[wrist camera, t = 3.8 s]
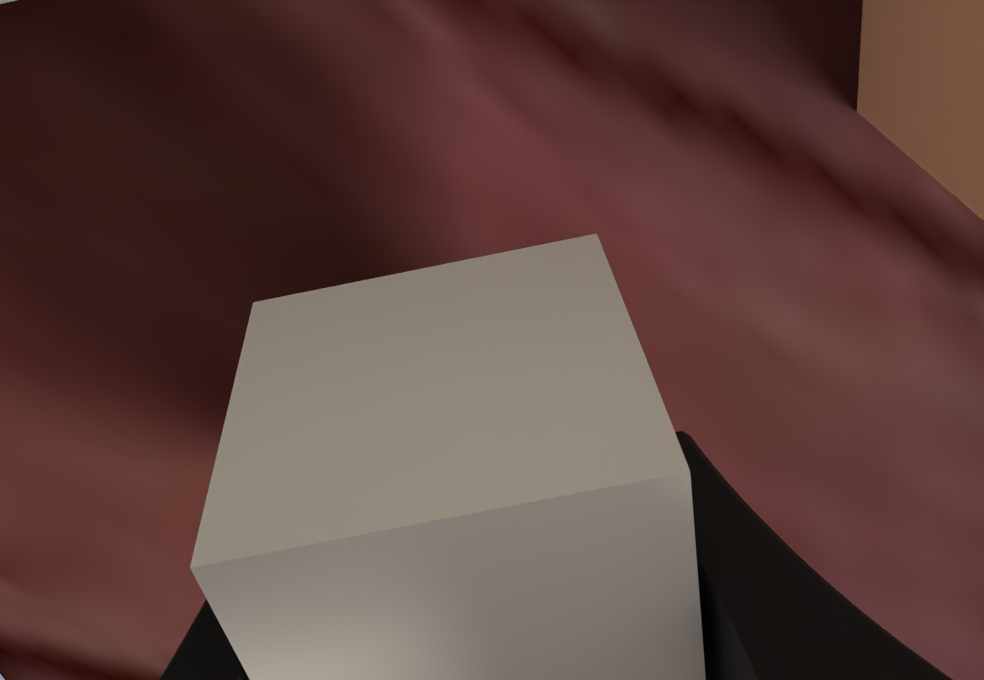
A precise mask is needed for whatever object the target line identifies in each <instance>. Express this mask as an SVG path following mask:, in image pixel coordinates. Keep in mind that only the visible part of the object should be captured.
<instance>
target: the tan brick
mask: <svg viewBox="0 0 984 680" xmlns="http://www.w3.org/2000/svg"><path fill="white" fill-rule="evenodd" d="M857 112H858V113H859V114H860V115H861V116H862V117H864V118H865V119H866V120H867V121H868V122H869V123H871V124H872V125H873V126H874V127H875V128H876V129H878V130H879V131H880V132H881V133H882V134H883V135H885V136H886V137H887V138H888V139H889V140H890V141H892V142H893V143H894V144H895V145H896V146H897V147H899V148H900V149H901V150H902V151H903V152H904V153H906V154H907V155H908V156H909V157H910V158H911V159H913V160H914V161H915V162H916V163H917V164H918V165H920V166H921V167H922V168H923V169H924V170H925V171H927V172H928V173H929V174H930V175H931V176H932V177H934V178H935V179H936V180H937V181H938V182H939V183H941V184H942V185H943V186H944V187H945V188H946V189H948V190H949V191H950V192H951V193H952V194H953V195H955V196H956V197H957V198H958V199H959V200H960V201H962V202H963V203H964V204H965V205H966V206H967V207H969V208H970V209H971V210H972V211H973V212H974V213H976V214H977V215H978V216H979V217H980V218H981V219H983V220H984V0H863V8H862V26H861V45H860V63H859V81H858V99H857Z"/></svg>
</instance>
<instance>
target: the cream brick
mask: <svg viewBox="0 0 984 680" xmlns="http://www.w3.org/2000/svg"><path fill="white" fill-rule="evenodd" d="M190 569H191V571H192V572H193V574H194V576H195V578H196V580H197V582H198V584H199V586H200V587H201V589H202V591H203V593H204V595H205V597H206V599H207V601H208V602H209V604H210V606H211V608H212V610H213V612H214V614H215V616H216V617H217V619H218V621H219V623H220V625H221V627H222V629H223V631H224V632H225V634H226V636H227V638H228V640H229V642H230V644H231V645H232V647H233V649H234V651H235V653H236V655H237V657H238V659H239V660H240V662H241V664H242V666H243V668H244V670H245V672H246V674H247V675H248V677H249V679H250V680H706V676H705V663H704V650H703V636H702V623H701V609H700V596H699V583H698V569H697V556H696V542H695V529H694V516H693V502H692V489H691V475H690V469H689V467H688V464H687V462H686V459H685V457H684V454H683V452H682V449H681V447H680V444H679V441H678V439H677V436H676V434H675V431H674V429H673V426H672V424H671V421H670V419H669V416H668V413H667V411H666V408H665V406H664V403H663V401H662V398H661V396H660V393H659V391H658V388H657V386H656V383H655V380H654V378H653V375H652V373H651V370H650V368H649V365H648V363H647V360H646V358H645V355H644V352H643V350H642V347H641V345H640V342H639V340H638V337H637V335H636V332H635V330H634V327H633V324H632V322H631V319H630V317H629V314H628V312H627V309H626V307H625V304H624V302H623V299H622V296H621V294H620V291H619V289H618V286H617V284H616V281H615V279H614V276H613V274H612V271H611V269H610V266H609V263H608V261H607V258H606V256H605V253H604V251H603V248H602V246H601V243H600V241H599V238H598V235H597V234H592V235H587V236H582V237H577V238H572V239H567V240H562V241H557V242H552V243H547V244H542V245H537V246H532V247H527V248H522V249H517V250H512V251H507V252H502V253H497V254H492V255H487V256H482V257H477V258H472V259H467V260H462V261H457V262H452V263H447V264H442V265H437V266H432V267H427V268H422V269H417V270H412V271H407V272H402V273H397V274H392V275H387V276H382V277H377V278H372V279H367V280H362V281H357V282H352V283H347V284H342V285H337V286H332V287H327V288H322V289H317V290H312V291H307V292H302V293H297V294H293V295H288V296H283V297H278V298H273V299H268V300H263V301H258V302H253V305H252V309H251V313H250V318H249V322H248V326H247V330H246V334H245V339H244V343H243V347H242V351H241V355H240V360H239V364H238V368H237V372H236V376H235V381H234V385H233V389H232V393H231V397H230V402H229V406H228V410H227V414H226V418H225V422H224V427H223V431H222V435H221V439H220V443H219V448H218V452H217V456H216V460H215V464H214V469H213V473H212V477H211V481H210V485H209V490H208V494H207V498H206V502H205V506H204V511H203V515H202V519H201V523H200V527H199V532H198V536H197V540H196V544H195V548H194V553H193V557H192V561H191V565H190Z"/></svg>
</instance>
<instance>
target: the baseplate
mask: <svg viewBox="0 0 984 680" xmlns="http://www.w3.org/2000/svg"><path fill="white" fill-rule="evenodd" d="M11 1H16V0H0V4H3V3H7V2H11Z"/></svg>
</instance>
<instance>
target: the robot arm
mask: <svg viewBox="0 0 984 680" xmlns="http://www.w3.org/2000/svg"><path fill="white" fill-rule="evenodd" d="M675 434H676V436H677V439H678V441H679V444H680V447H681V449H682V452H683V454H684V457H685V459H686V462H687V464H688V467H689V469H690V475H691V489H692V502H693V516H694V529H695V542H696V556H697V569H698V583H699V596H700V609H701V623H702V636H703V650H704V663H705V676H706V680H953V679H951V678H950V677H948V676H947V675H945V674H944V673H942V672H941V671H940V670H938V669H937V668H935V667H934V666H933V665H931V664H930V663H929V662H927V661H926V660H924V659H923V658H922V657H920V656H919V655H918V654H916V653H915V652H913V651H912V650H911V649H909V648H908V647H907V646H905V645H904V644H902V643H901V642H900V641H899V640H897V639H896V638H895V637H893V636H892V635H891V634H890V633H888V632H887V631H886V630H884V629H883V628H882V627H881V626H879V625H878V624H877V623H875V622H874V621H873V620H872V619H870V618H869V617H868V616H867V615H865V614H864V613H863V612H862V611H861V610H859V609H858V608H857V607H856V606H855V605H853V604H852V603H851V602H850V601H849V600H847V599H846V598H845V597H844V596H843V595H842V594H840V593H839V592H838V591H837V590H836V589H835V588H834V587H832V586H831V585H830V584H829V583H828V582H827V581H826V580H825V579H823V578H822V577H821V576H820V575H819V574H818V573H817V572H816V571H814V570H813V569H812V568H811V567H810V566H809V565H808V564H807V563H806V562H805V561H804V560H803V559H801V558H800V557H799V556H798V555H797V554H796V553H795V552H794V551H793V550H792V549H791V548H790V547H789V546H788V545H787V544H786V543H785V542H784V541H783V540H782V539H781V538H780V537H779V536H778V535H777V534H776V533H775V532H774V531H773V530H772V529H771V528H770V527H769V526H768V525H767V524H766V523H765V522H764V521H763V520H762V519H761V518H760V517H759V516H758V515H757V514H756V513H755V512H754V511H753V510H752V509H751V508H750V507H749V506H748V504H747V503H746V502H745V501H744V500H743V499H742V498H741V497H740V496H739V495H738V493H737V492H736V491H735V490H734V489H733V488H732V487H731V486H730V484H729V483H728V482H727V481H726V480H725V479H724V478H723V476H722V475H721V474H720V473H719V472H718V471H717V469H716V468H715V467H714V466H713V465H712V463H711V462H710V461H709V460H708V458H707V457H706V456H705V455H704V453H703V452H702V451H701V449H700V448H699V447H698V446H697V444H696V443H695V441H694V440H693V439H692V437H691V436H690V435H688V434H686V433H685V432H683V431H679V432H675ZM0 680H5V679H4V678H3V677H2V676H1V674H0ZM159 680H250V679H249V677H248V675H247V674H246V672H245V670H244V668H243V666H242V664H241V662H240V660H239V659H238V657H237V655H236V653H235V651H234V649H233V647H232V645H231V644H230V642H229V640H228V638H227V636H226V634H225V632H224V631H223V629H222V627H221V625H220V623H219V621H218V619H217V617H216V616H215V614H214V612H213V610H212V608H211V606H210V604H209V602H208V601H207V599H206V600H205V602H204V604H203V606H202V608H201V610H200V611H199V613H198V615H197V617H196V618H195V620H194V622H193V623H192V625H191V627H190V629H189V630H188V632H187V634H186V636H185V637H184V639H183V641H182V642H181V644H180V646H179V648H178V649H177V651H176V653H175V655H174V656H173V658H172V660H171V661H170V663H169V665H168V666H167V668H166V670H165V671H164V673H163V674H162V676H161V678H160V679H159Z"/></svg>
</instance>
